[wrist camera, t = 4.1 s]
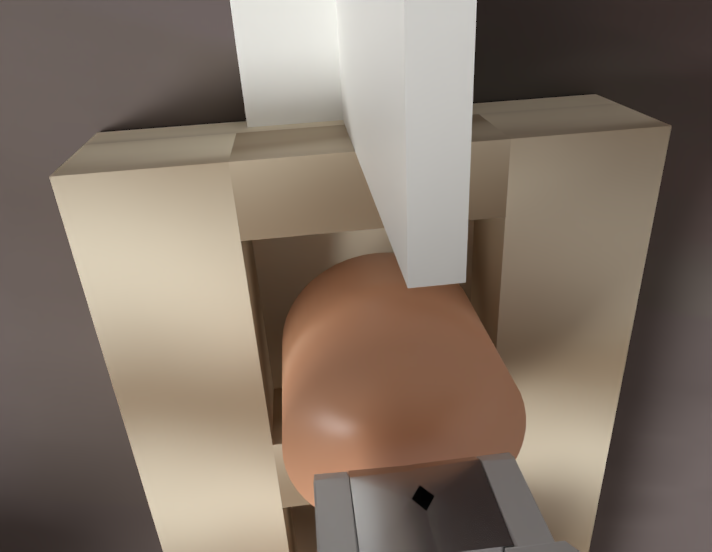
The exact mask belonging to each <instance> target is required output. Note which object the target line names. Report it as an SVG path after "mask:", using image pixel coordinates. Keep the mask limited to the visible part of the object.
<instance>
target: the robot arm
mask: <svg viewBox="0 0 712 552" xmlns="http://www.w3.org/2000/svg"><path fill="white" fill-rule="evenodd" d="M313 484H314V501H315V519H316V537H317V552H580V551H579V550H577V549H576V548H575V547H573V546H572V545H570V544H569V543H568V542H566V541H557V542H555V541H554V539H553V537H552V534H551V532H550V530H549V528H548V526H547V524H546V522H545V520H544V518H543V516H542V514H541V512H540V509H539V507H538V505H537V503H536V501H535V499H534V497H533V495H532V493H531V491H530V489H529V487H528V485H527V482H526V480H525V478H524V476H523V474H522V472H521V470H520V468H519V466H518V464H517V462H516V460H515V457H514V456H513V455H512V454H510V453H509V452H507V453H499V454H491V455H483V456H477V457H467V458H459V459H451V460H443V461H435V462H427V463H419V464H412V465H406V466H395V467H384V468H372V469H361V470H350V471H348V472H336V473H324V474H314V483H313Z"/></svg>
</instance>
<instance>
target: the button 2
mask: <svg viewBox="0 0 712 552" xmlns="http://www.w3.org/2000/svg"><path fill="white" fill-rule="evenodd" d="M525 431H526V412H525V405H524V402H523V399H522V396H521V393H520V391H519V389H518V387H517V386H516V384H515V382H514V380H513V378H512V377H511V375H510V373H509V371H508V369H507V367H506V366H505V364H504V362H503V360H502V358H501V357H500V355H499V353H498V351H497V349H496V348H495V346H494V344H493V342H492V340H491V339H490V337H489V335H488V333H487V331H486V330H485V328H484V326H483V324H482V322H481V321H480V319H479V317H478V315H477V313H476V312H475V310H474V308H473V306H472V304H471V303H470V301H469V299H468V297H467V295H466V294H465V292H464V290H463V289H462V287H461V286H460V285H459V283H457V284H447V285H437V286H427V287H416V288H407V285H406V282H405V280H404V277H403V275H402V272H401V269H400V267H399V264H398V262H397V259H396V256H395V254H394V253H373V254H366V255H361V256H358V257H354V258H350V259H348V260H345V261H343V262H340V263H338V264H336V265H334V266H332V267H330V268H329V269H327V270H325V271H324V272H322V273H321V274H320V275H318V276H317V277H315V278H314V279H313V280H312V281H311V282H310V283H309V284H308V285H307V286H306V287H305V288H304V289H303V290H302V291H301V293H300V294H299V295H298V296H297V298H296V299H295V301H294V303H293V304H292V306H291V308H290V310H289V312H288V315H287V317H286V321H285V324H284V328H283V337H282V453H283V460H284V465H285V469H286V471H287V473H288V476H289V478H290V480H291V482H292V483H293V485H294V486H295V488H296V490H297V491H298V492H299V493H300V494H301V495H302V496H303V497H304V499H305V500H307V501H308V502H309V503H310V504H311V505H313V506H314V507H315V501H314V484H313V483H314V474H324V473H336V472H348V471H350V470H361V469H372V468H384V467H395V466H406V465H412V464H419V463H427V462H435V461H443V460H451V459H459V458H467V457H477V456H483V455H491V454H499V453H507V452H509V453H510V454H512V455H513V456H514V457H515V460H516V458H517V456H518V454H519V452H520V450H521V447H522V444H523V441H524V436H525Z"/></svg>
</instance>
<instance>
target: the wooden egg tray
mask: <svg viewBox="0 0 712 552" xmlns="http://www.w3.org/2000/svg"><path fill="white" fill-rule="evenodd" d="M671 127H672V126H671V125H669V124H666V123H664V122H662V121H659V120H657V119H654V118H652V117H650V116H647V115H645V114H642V113H640V112H637V111H635V110H633V109H630V108H628V107H625V106H623V105H621V104H618V103H616V102H613V101H611V100H609V99H606V98H604V97H601V96H599V95H597V94H590V95H577V96H564V97H551V98H538V99H525V100H512V101H499V102H487V103H474V104H473V111H472V137H471V162H470V188H469V214H468V240H467V265H466V283H459V285H460V286H461V287H462V289H463V290H464V292H465V294H466V295H467V297H468V299H469V301H470V303H471V304H472V306H473V308H474V310H475V312H476V313H477V315H478V317H479V319H480V321H481V322H482V324H483V326H484V328H485V330H486V331H487V333H488V335H489V337H490V339H491V340H492V342H493V344H494V346H495V348H496V349H497V351H498V353H499V355H500V357H501V358H502V360H503V362H504V364H505V366H506V367H507V369H508V371H509V373H510V375H511V377H512V378H513V380H514V382H515V384H516V386H517V387H518V389H519V391H520V393H521V396H522V399H523V402H524V405H525V412H526V431H525V436H524V441H523V444H522V447H521V450H520V452H519V454H518V456H517V458H516V462H517V464H518V466H519V468H520V470H521V472H522V474H523V476H524V478H525V480H526V482H527V485H528V487H529V489H530V491H531V493H532V495H533V497H534V499H535V501H536V503H537V505H538V507H539V509H540V512H541V514H542V516H543V518H544V520H545V522H546V524H547V526H548V528H549V530H550V532H551V534H552V537H553V539H554V541H555V542H557V541H566V542H568V543H569V544H570V545H572V546H573V547H575V548H576V549H577V550H579V551H580V552H589V548H590V542H591V537H592V532H593V527H594V522H595V517H596V512H597V507H598V501H599V496H600V491H601V486H602V481H603V476H604V471H605V466H606V460H607V455H608V450H609V445H610V440H611V435H612V430H613V424H614V419H615V414H616V409H617V404H618V399H619V394H620V389H621V383H622V378H623V373H624V368H625V363H626V358H627V353H628V348H629V342H630V337H631V332H632V327H633V322H634V317H635V312H636V307H637V301H638V296H639V291H640V286H641V281H642V276H643V271H644V265H645V260H646V255H647V250H648V245H649V240H650V235H651V230H652V224H653V219H654V214H655V209H656V204H657V199H658V194H659V189H660V183H661V178H662V173H663V168H664V163H665V158H666V153H667V148H668V142H669V137H670V132H671ZM49 178H50V181H51V184H52V188H53V191H54V194H55V197H56V201H57V204H58V207H59V211H60V214H61V217H62V220H63V224H64V227H65V230H66V234H67V237H68V240H69V244H70V247H71V250H72V253H73V257H74V260H75V263H76V267H77V270H78V273H79V276H80V280H81V283H82V286H83V290H84V293H85V296H86V299H87V303H88V306H89V309H90V313H91V316H92V319H93V323H94V326H95V329H96V332H97V336H98V339H99V342H100V346H101V349H102V352H103V355H104V359H105V362H106V365H107V369H108V372H109V375H110V379H111V382H112V385H113V388H114V392H115V395H116V398H117V402H118V405H119V408H120V411H121V415H122V418H123V421H124V425H125V428H126V431H127V435H128V438H129V441H130V444H131V448H132V451H133V454H134V458H135V461H136V464H137V467H138V471H139V474H140V477H141V481H142V484H143V487H144V491H145V494H146V497H147V500H148V504H149V507H150V510H151V514H152V517H153V520H154V523H155V527H156V530H157V533H158V537H159V540H160V543H161V547H162V550H163V552H316V551H317V537H316V519H315V507H314V506H313V505H311V504H310V503H309V502H308V501H307V500H305V499H304V497H303V496H302V495H301V494H300V493H299V492H298V491H297V490H296V488H295V486H294V485H293V483H292V482H291V480H290V478H289V476H288V473H287V471H286V469H285V465H284V460H283V453H282V337H283V328H284V324H285V321H286V317H287V315H288V312H289V310H290V308H291V306H292V304H293V303H294V301H295V299H296V298H297V296H298V295H299V294H300V293H301V291H302V290H303V289H304V288H305V287H306V286H307V285H308V284H309V283H310V282H311V281H312V280H313V279H314V278H315V277H317V276H318V275H320V274H321V273H322V272H324V271H325V270H327V269H329V268H330V267H332V266H334V265H336V264H338V263H340V262H343V261H345V260H348V259H350V258H354V257H358V256H361V255H366V254H373V253H394V251H393V249H392V246H391V243H390V241H389V238H388V236H387V233H386V230H385V228H384V225H383V223H382V220H381V217H380V215H379V212H378V210H377V207H376V205H375V202H374V199H373V197H372V194H371V192H370V189H369V186H368V184H367V181H366V179H365V176H364V173H363V171H362V168H361V166H360V163H359V160H358V158H357V155H356V153H355V150H354V147H353V145H352V142H351V140H350V137H349V134H348V132H347V129H346V127H345V124H344V121H343V120H337V121H324V122H312V123H299V124H286V125H273V126H260V127H247V121H240V122H227V123H214V124H201V125H188V126H175V127H162V128H149V129H136V130H123V131H110V132H98V133H97V134H95V135H94V136H93V137H92V138H91V139H90V140H89V141H88V142H87V143H86V144H85V145H83V146H82V147H81V148H80V149H79V150H78V151H77V152H76V153H75V154H74V155H72V156H71V157H70V158H69V159H68V160H67V161H66V162H65V163H64V164H63V165H61V166H60V167H59V168H58V169H57V170H56V171H55V172H54V173H53V174H52V175H50V176H49Z"/></svg>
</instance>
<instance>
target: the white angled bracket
mask: <svg viewBox="0 0 712 552" xmlns="http://www.w3.org/2000/svg"><path fill="white" fill-rule="evenodd" d="M230 4H231V12H232V19H233V26H234V34H235V41H236V48H237V56H238V63H239V70H240V77H241V85H242V92H243V99H244V107H245V114H246V121H247V127H260V126H273V125H286V124H299V123H312V122H324V121H337V120H343V121H344V124H345V127H346V129H347V132H348V134H349V137H350V140H351V142H352V145H353V147H354V150H355V153H356V155H357V158H358V160H359V163H360V166H361V168H362V171H363V173H364V176H365V179H366V181H367V184H368V186H369V189H370V192H371V194H372V197H373V199H374V202H375V205H376V207H377V210H378V212H379V215H380V217H381V220H382V223H383V225H384V228H385V230H386V233H387V236H388V238H389V241H390V243H391V246H392V249H393V251H394V254H395V256H396V259H397V262H398V264H399V267H400V269H401V272H402V275H403V277H404V280H405V282H406V285H407V288H416V287H427V286H437V285H447V284H457V283H466V265H467V240H468V214H469V188H470V162H471V137H472V111H473V85H474V59H475V33H476V8H477V0H230Z"/></svg>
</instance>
